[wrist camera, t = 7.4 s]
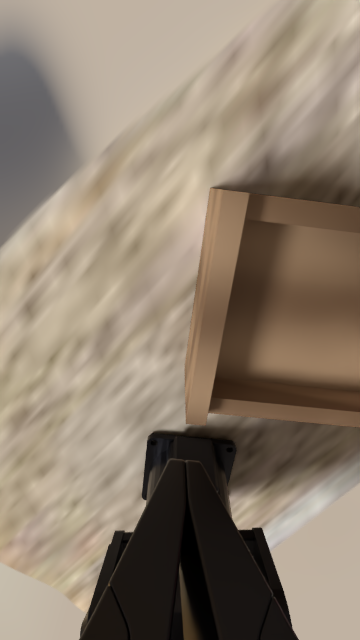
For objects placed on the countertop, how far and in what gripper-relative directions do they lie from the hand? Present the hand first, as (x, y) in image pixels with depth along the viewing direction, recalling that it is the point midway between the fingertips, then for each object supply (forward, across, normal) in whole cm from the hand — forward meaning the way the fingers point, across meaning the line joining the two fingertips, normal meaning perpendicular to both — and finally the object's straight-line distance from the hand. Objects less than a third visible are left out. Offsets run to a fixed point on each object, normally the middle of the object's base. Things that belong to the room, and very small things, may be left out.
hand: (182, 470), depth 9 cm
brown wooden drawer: (+12, -7, -2) cm, 14 cm away
